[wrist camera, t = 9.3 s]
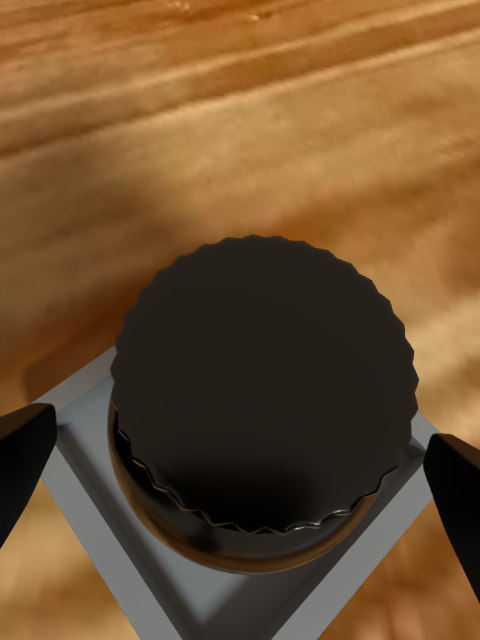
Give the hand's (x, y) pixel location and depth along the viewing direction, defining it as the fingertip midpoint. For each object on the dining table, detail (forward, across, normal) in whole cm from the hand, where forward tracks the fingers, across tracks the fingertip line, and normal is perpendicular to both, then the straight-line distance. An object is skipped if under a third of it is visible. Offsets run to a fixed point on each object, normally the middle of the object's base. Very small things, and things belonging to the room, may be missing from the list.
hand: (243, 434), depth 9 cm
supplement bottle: (+6, 0, +5) cm, 8 cm away
